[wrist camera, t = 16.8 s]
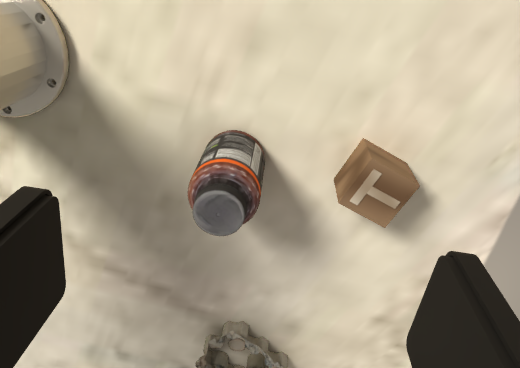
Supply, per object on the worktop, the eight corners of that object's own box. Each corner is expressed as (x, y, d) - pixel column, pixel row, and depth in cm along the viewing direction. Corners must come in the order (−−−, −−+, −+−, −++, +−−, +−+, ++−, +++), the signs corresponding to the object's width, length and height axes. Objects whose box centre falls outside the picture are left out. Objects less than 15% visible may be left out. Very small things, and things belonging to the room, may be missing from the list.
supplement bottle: (248, 193, 44) (235, 260, 34) (195, 166, 43) (166, 227, 33) (276, 146, 42) (271, 203, 31) (221, 116, 41) (197, 165, 30)
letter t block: (374, 202, 44) (384, 229, 39) (333, 179, 43) (337, 204, 38) (406, 162, 42) (420, 186, 37) (363, 137, 41) (372, 159, 36)
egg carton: (197, 338, 54) (190, 365, 50) (240, 310, 52) (236, 336, 48) (254, 385, 57) (251, 414, 53) (297, 361, 55) (297, 389, 51)
